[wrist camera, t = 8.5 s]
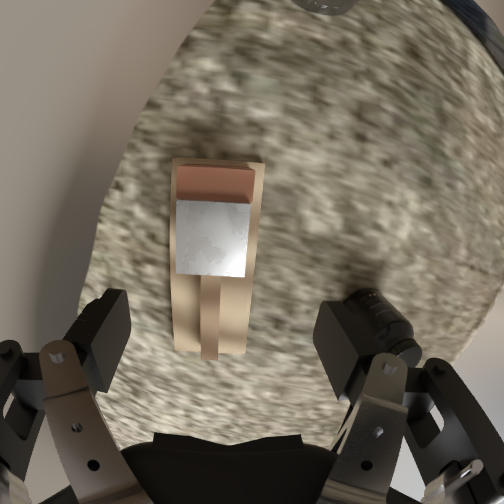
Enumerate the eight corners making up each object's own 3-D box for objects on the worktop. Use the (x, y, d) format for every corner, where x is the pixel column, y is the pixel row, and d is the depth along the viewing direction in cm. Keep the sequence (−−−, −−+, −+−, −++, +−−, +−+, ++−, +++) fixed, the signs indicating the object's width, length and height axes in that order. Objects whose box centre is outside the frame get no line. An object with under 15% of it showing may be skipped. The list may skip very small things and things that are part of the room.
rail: (175, 157, 26) (159, 159, 19) (262, 163, 27) (275, 166, 20) (176, 342, 34) (169, 380, 27) (244, 346, 35) (248, 384, 28)
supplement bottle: (374, 326, 36) (415, 380, 25) (334, 330, 35) (368, 392, 24) (387, 285, 34) (438, 334, 23) (344, 286, 33) (390, 344, 22)
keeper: (187, 189, 25) (176, 200, 20) (245, 192, 26) (251, 204, 20) (185, 248, 27) (176, 273, 22) (240, 251, 28) (244, 277, 22)
